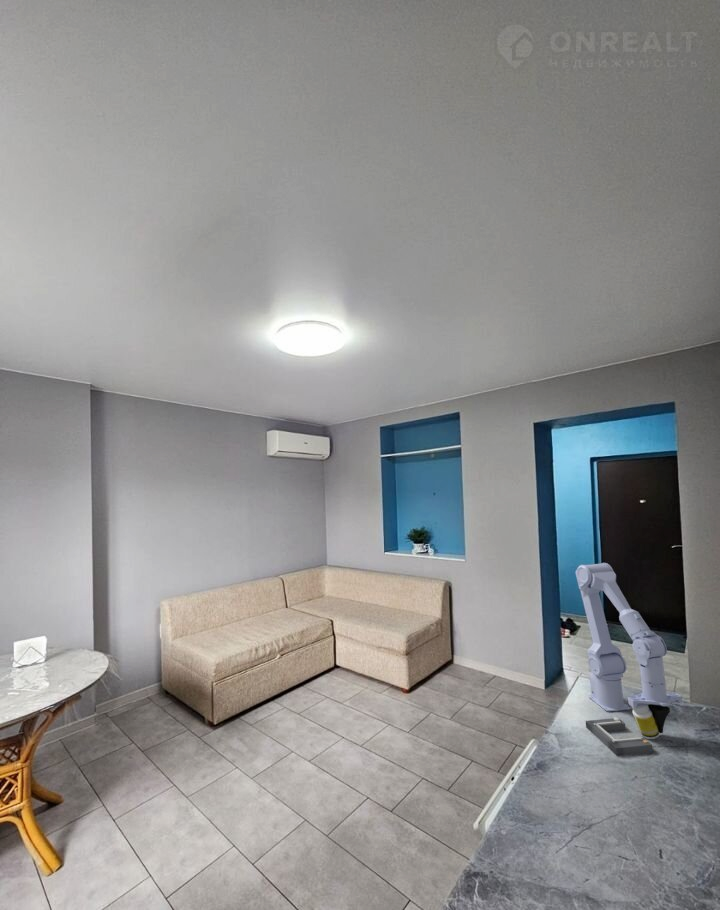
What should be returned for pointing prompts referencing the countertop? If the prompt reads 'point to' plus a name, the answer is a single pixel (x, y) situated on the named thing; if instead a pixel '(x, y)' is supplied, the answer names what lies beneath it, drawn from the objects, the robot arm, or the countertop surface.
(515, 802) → the countertop surface
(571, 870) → the countertop surface
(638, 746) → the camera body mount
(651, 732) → the supplement bottle
